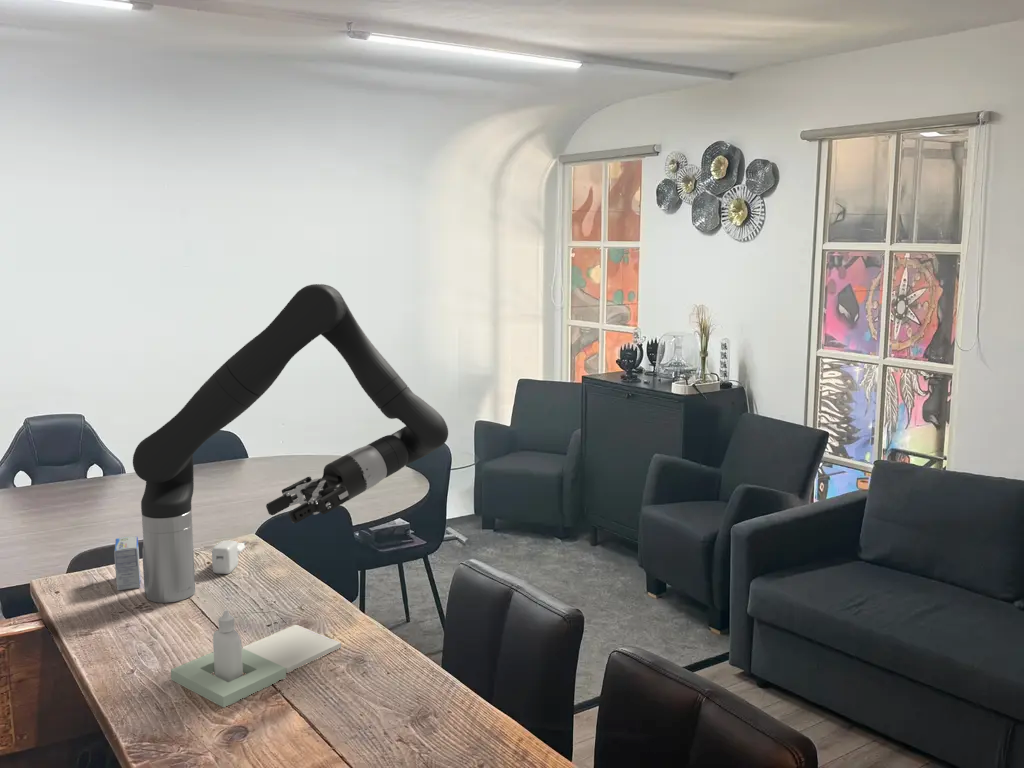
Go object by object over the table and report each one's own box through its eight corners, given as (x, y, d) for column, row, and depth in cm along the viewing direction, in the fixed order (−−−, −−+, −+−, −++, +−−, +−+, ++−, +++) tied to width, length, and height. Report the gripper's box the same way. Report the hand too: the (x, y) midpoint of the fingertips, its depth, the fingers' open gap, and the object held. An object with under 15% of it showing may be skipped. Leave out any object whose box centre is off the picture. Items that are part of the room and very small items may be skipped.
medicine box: (140, 588, 187) (138, 547, 186) (116, 591, 185) (113, 550, 184) (140, 574, 194) (138, 535, 193) (117, 577, 193) (114, 537, 191)
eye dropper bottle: (242, 669, 154) (239, 601, 152) (243, 685, 149) (240, 615, 147) (214, 673, 153) (211, 604, 151) (215, 689, 147) (211, 618, 145)
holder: (171, 679, 150) (170, 669, 150) (233, 653, 160) (232, 643, 159) (223, 707, 142) (223, 696, 142) (286, 678, 151) (285, 667, 151)
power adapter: (229, 555, 206) (228, 530, 205) (250, 556, 205) (249, 531, 204) (209, 574, 195) (208, 548, 194) (231, 575, 194) (230, 549, 193)
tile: (241, 652, 160) (241, 647, 160) (296, 629, 169) (296, 624, 169) (286, 673, 153) (286, 668, 153) (341, 648, 162) (341, 642, 162)
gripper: (329, 450, 173) (253, 489, 163) (370, 458, 162) (291, 501, 152) (342, 485, 175) (268, 526, 165) (383, 496, 164) (306, 540, 155)
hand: (279, 514), depth 159 cm, fingers open, 8 cm apart
